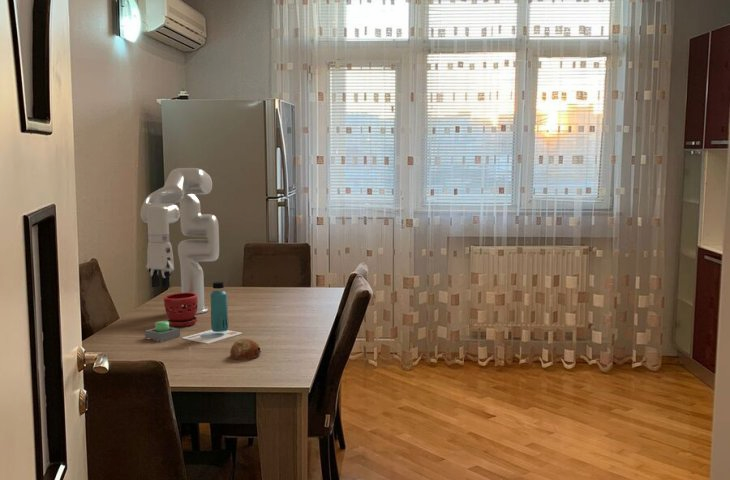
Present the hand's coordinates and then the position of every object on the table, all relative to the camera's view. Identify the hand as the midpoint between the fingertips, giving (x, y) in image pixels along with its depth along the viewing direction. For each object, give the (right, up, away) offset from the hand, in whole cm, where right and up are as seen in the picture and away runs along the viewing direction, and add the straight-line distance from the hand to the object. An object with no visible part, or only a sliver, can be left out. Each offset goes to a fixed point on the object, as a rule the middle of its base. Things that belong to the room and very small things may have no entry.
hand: (160, 286), depth 279 cm
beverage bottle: (+21, -19, +6) cm, 29 cm away
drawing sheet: (+18, -19, +4) cm, 27 cm away
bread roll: (+35, -23, -23) cm, 48 cm away
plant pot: (+2, -17, +24) cm, 29 cm away
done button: (0, -18, +2) cm, 18 cm away
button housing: (0, -19, +2) cm, 19 cm away
